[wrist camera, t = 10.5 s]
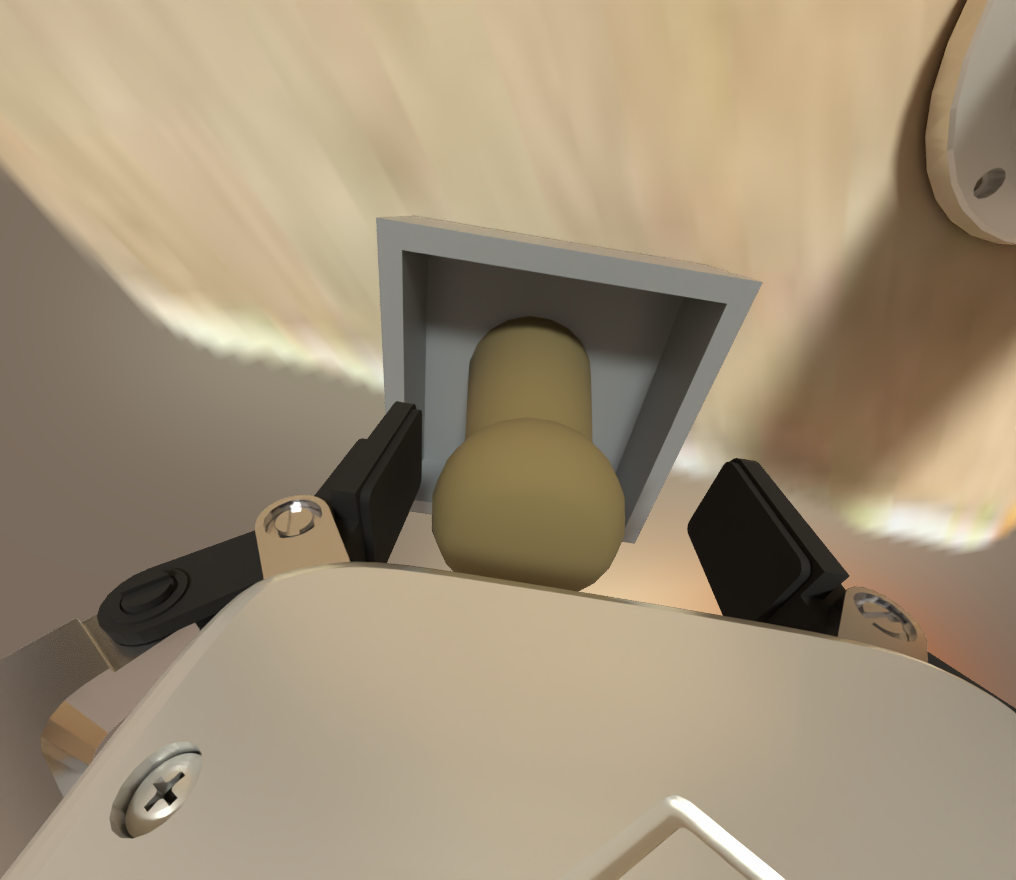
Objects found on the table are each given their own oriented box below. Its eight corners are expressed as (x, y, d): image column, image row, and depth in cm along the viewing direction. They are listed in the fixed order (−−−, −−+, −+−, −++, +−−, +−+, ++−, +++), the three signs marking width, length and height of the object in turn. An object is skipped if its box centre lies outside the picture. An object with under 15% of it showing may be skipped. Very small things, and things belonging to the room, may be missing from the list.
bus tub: (706, 265, 16) (762, 282, 12) (617, 486, 22) (634, 543, 18) (415, 215, 15) (376, 217, 11) (414, 457, 22) (390, 508, 18)
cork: (493, 443, 20) (460, 647, 11) (448, 341, 17) (346, 498, 8) (602, 413, 19) (674, 617, 9) (574, 296, 16) (637, 422, 6)
